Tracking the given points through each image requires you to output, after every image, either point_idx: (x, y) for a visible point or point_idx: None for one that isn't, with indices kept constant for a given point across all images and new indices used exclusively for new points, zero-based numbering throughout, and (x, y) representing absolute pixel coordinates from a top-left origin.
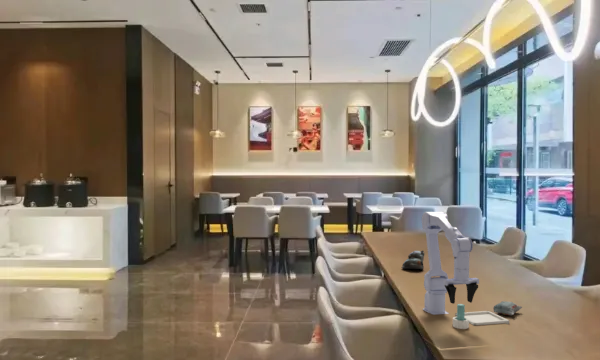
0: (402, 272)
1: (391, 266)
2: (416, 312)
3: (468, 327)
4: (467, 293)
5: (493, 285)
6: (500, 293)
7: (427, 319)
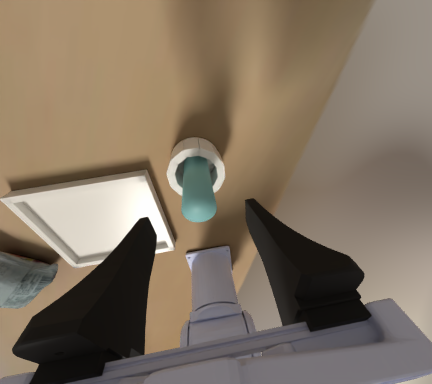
0: None
1: None
2: (251, 259)
3: (174, 148)
4: (149, 276)
5: None
6: None
7: None
